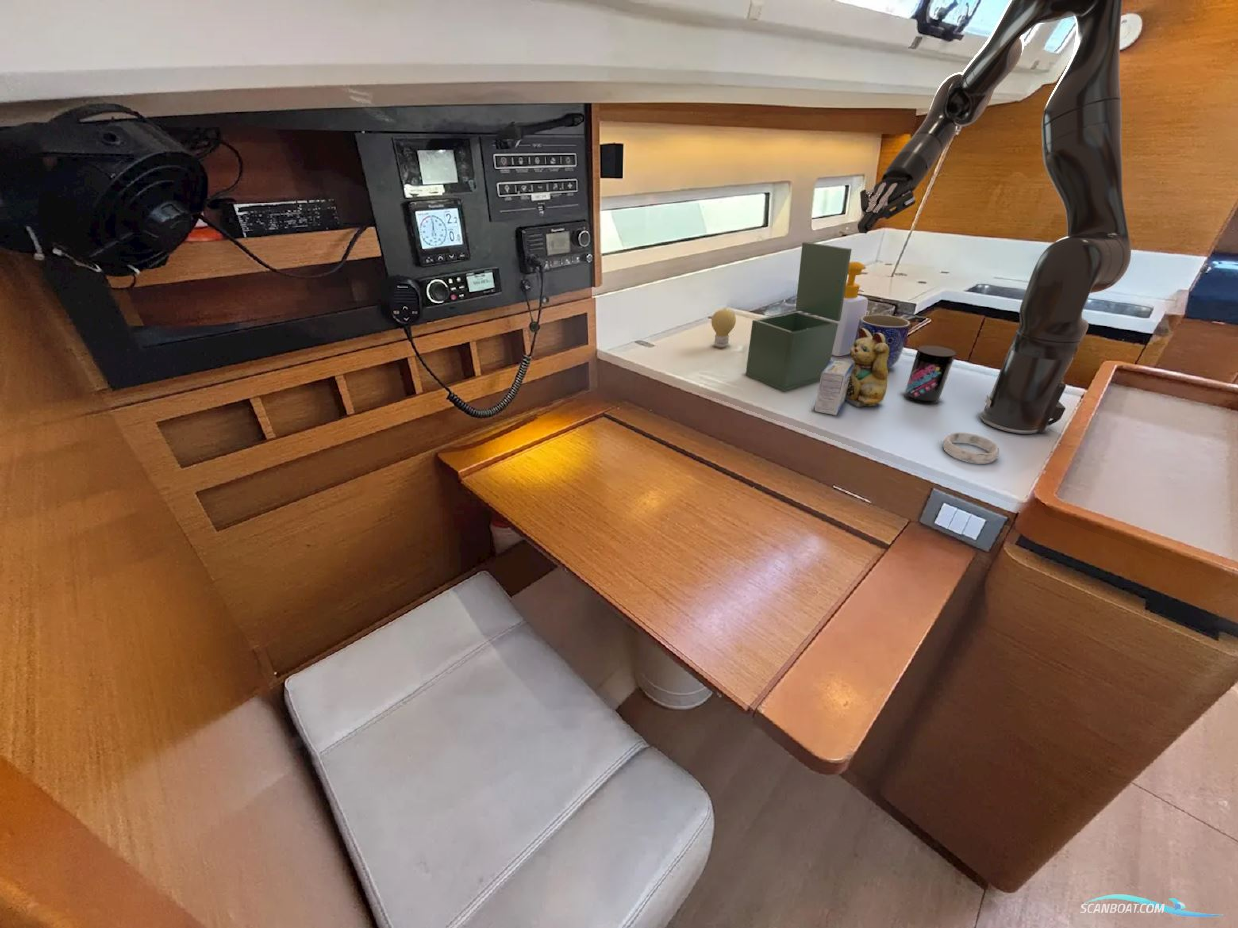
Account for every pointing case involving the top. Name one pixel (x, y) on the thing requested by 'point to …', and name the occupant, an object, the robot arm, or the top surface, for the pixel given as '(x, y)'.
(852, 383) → the decorative figurine
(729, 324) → the light bulb
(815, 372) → the tin
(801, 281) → the green square lid
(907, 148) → the robot arm
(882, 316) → the planter
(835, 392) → the medicine box
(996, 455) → the ring
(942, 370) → the supplement container
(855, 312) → the soap bottle
